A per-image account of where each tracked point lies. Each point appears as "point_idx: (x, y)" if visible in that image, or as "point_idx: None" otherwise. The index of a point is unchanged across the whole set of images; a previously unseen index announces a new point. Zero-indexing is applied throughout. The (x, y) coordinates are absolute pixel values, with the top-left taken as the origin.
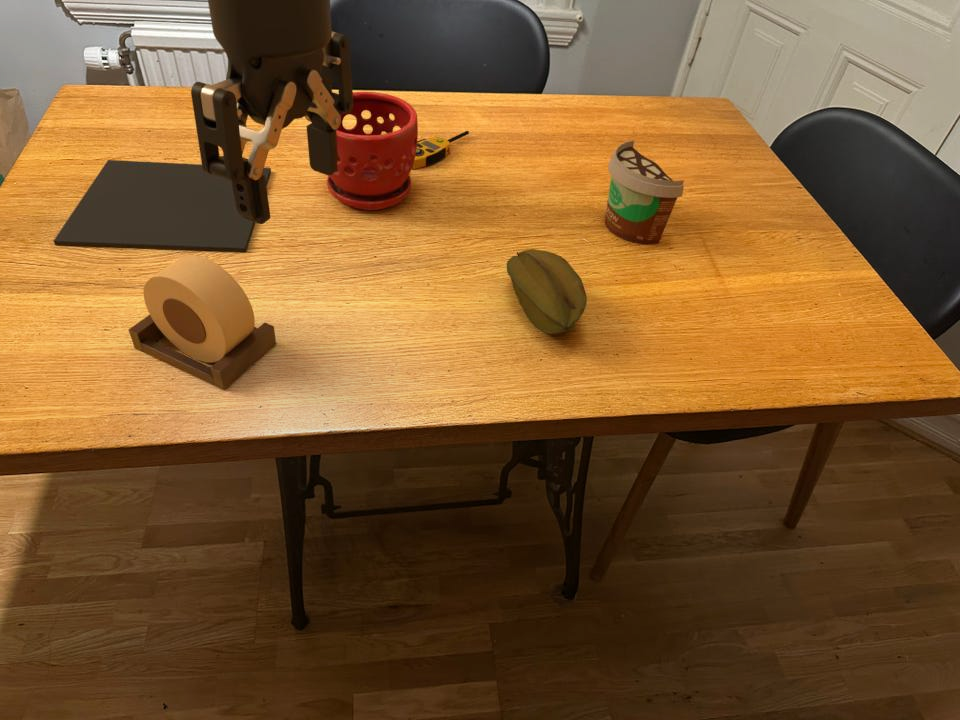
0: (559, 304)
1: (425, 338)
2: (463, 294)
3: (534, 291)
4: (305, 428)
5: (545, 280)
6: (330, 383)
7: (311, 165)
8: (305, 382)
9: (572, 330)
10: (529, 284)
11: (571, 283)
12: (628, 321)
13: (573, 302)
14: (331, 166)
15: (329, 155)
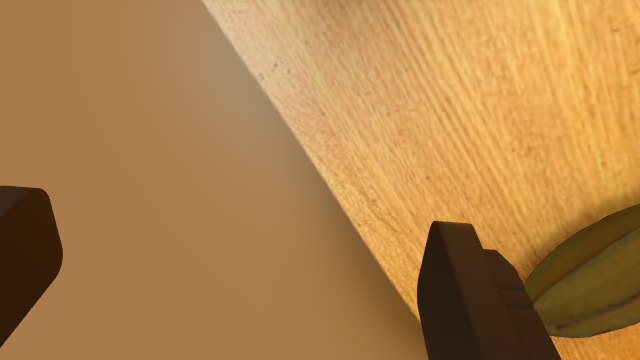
0: (556, 317)
1: (485, 124)
2: (617, 135)
3: (592, 274)
4: (239, 55)
5: (612, 293)
6: (334, 40)
7: (437, 227)
8: (318, 3)
9: None
10: (609, 265)
11: (618, 317)
12: None
13: (570, 326)
14: (422, 320)
15: (431, 353)
